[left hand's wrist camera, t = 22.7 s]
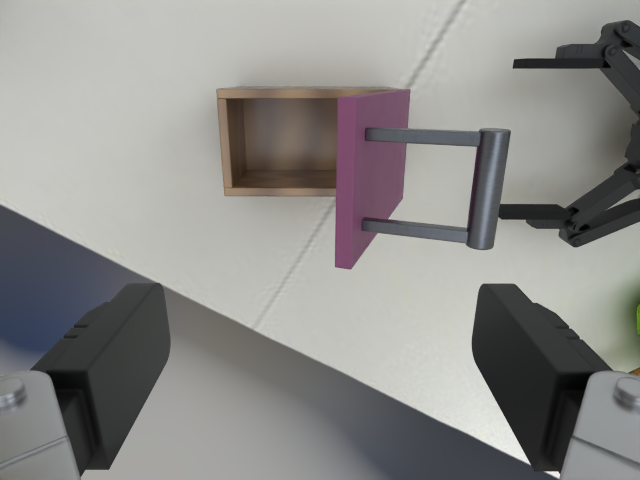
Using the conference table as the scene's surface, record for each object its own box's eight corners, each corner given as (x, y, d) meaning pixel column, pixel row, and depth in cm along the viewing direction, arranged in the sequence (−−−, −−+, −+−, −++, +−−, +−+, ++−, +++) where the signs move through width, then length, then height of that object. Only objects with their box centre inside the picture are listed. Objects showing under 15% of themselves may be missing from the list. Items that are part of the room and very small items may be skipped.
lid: (334, 267, 25) (489, 290, 23) (337, 97, 22) (518, 100, 19) (391, 197, 40) (489, 206, 37) (398, 89, 37) (506, 90, 34)
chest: (241, 175, 49) (224, 196, 40) (236, 86, 46) (216, 88, 37) (382, 175, 49) (396, 196, 40) (387, 87, 46) (403, 89, 37)
